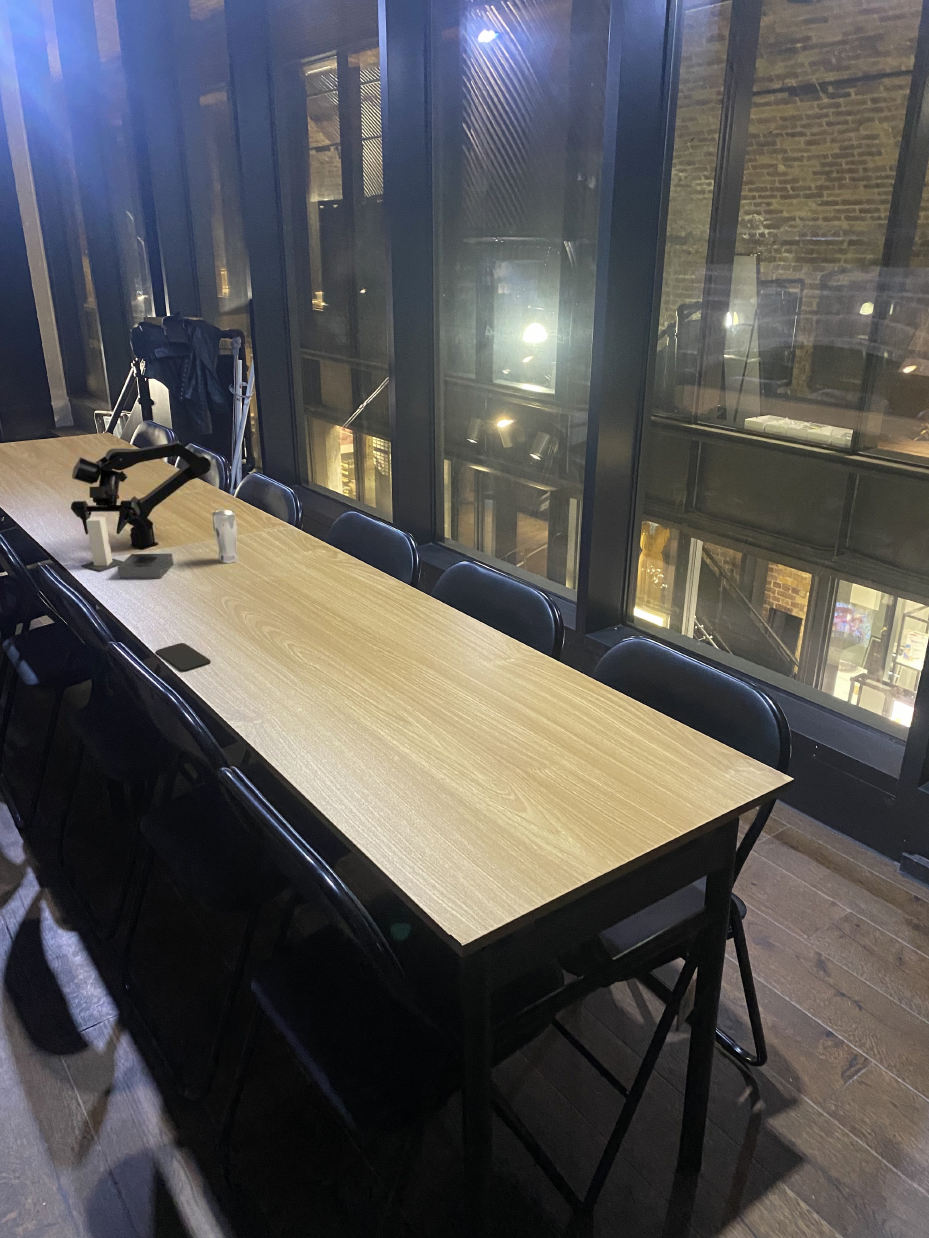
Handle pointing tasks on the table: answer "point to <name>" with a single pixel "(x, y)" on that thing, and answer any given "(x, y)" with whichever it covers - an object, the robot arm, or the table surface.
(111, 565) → the mat
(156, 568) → the socket block
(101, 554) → the peg
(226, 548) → the beer glass
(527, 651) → the table surface
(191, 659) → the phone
